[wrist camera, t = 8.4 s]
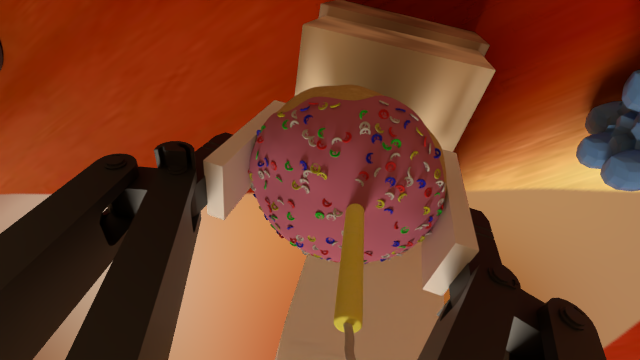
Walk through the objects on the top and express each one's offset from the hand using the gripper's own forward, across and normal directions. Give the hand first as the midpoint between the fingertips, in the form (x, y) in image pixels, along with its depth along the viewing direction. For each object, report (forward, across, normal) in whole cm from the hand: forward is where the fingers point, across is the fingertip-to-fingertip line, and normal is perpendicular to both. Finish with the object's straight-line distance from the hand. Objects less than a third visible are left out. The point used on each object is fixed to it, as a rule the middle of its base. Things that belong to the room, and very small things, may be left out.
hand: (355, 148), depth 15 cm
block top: (+7, 0, 0) cm, 8 cm away
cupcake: (+1, 0, 0) cm, 1 cm away
